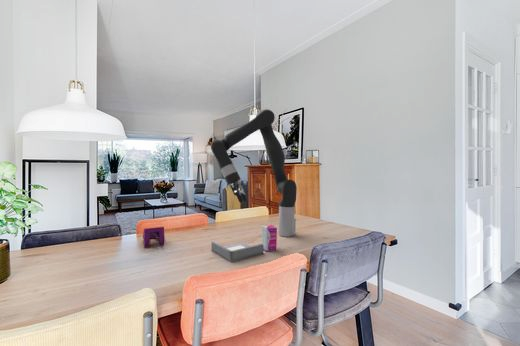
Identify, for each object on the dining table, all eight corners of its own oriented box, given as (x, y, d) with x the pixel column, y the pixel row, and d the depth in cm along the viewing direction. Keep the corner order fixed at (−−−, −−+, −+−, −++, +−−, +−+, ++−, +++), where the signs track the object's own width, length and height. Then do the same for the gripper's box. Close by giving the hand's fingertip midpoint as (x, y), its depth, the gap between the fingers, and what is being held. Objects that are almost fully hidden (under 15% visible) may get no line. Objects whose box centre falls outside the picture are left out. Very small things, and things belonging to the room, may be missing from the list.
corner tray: (242, 244, 139) (242, 235, 139) (263, 253, 125) (263, 244, 124) (211, 250, 128) (211, 241, 128) (230, 262, 114) (230, 252, 114)
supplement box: (266, 252, 127) (266, 228, 126) (261, 248, 132) (261, 225, 132) (276, 250, 129) (277, 227, 129) (271, 246, 135) (271, 224, 134)
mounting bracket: (142, 251, 144) (144, 245, 129) (142, 235, 147) (144, 228, 132) (161, 248, 149) (164, 243, 134) (160, 233, 151) (163, 226, 137)
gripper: (233, 170, 132) (247, 199, 130) (240, 172, 146) (253, 198, 143) (220, 177, 133) (234, 205, 130) (228, 178, 147) (241, 204, 144)
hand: (244, 201), depth 137 cm, fingers open, 8 cm apart
